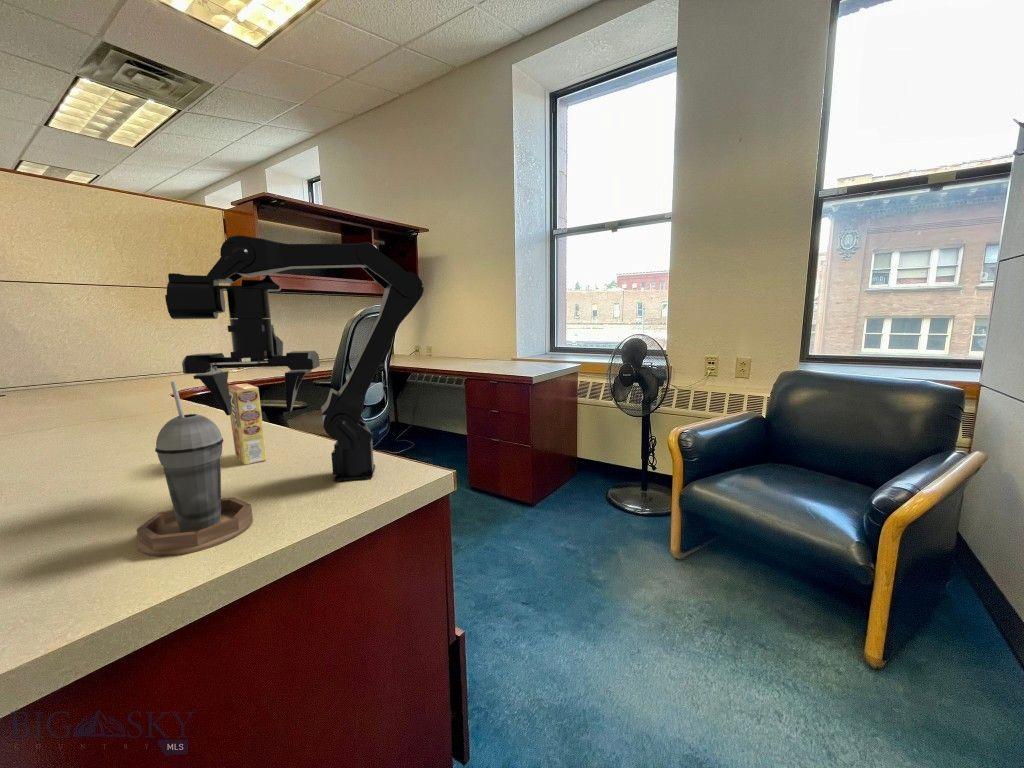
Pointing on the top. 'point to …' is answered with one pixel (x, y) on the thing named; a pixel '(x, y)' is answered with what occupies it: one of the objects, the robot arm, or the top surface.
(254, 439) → the candy box
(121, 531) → the top surface
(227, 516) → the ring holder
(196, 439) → the beverage cup
